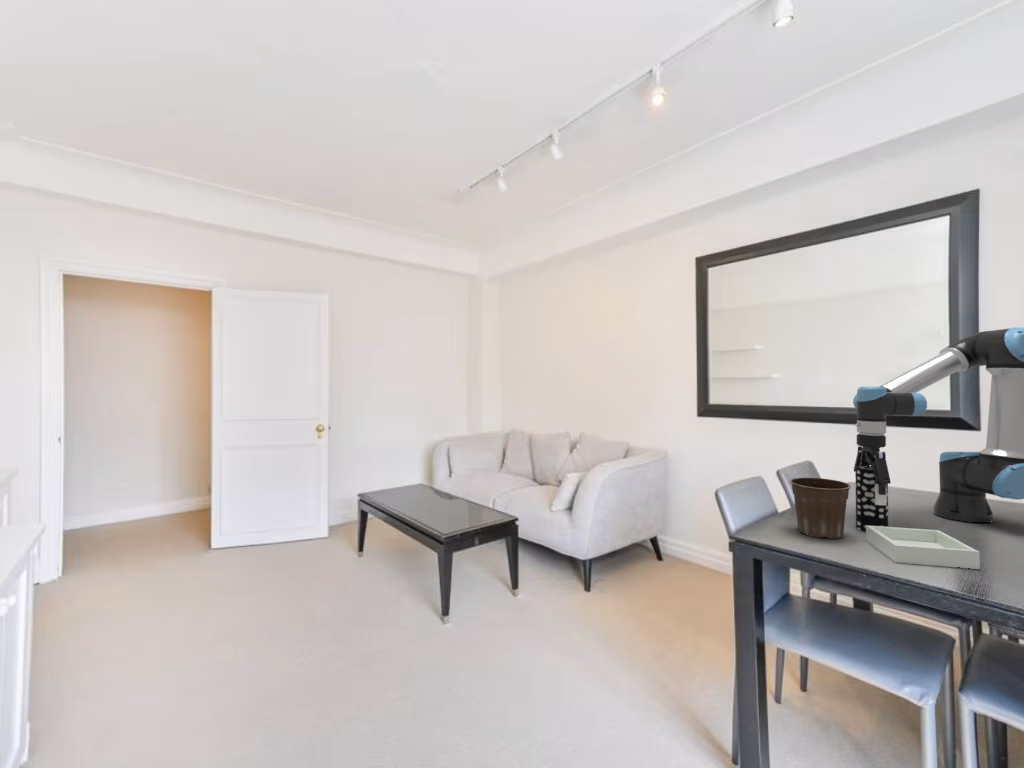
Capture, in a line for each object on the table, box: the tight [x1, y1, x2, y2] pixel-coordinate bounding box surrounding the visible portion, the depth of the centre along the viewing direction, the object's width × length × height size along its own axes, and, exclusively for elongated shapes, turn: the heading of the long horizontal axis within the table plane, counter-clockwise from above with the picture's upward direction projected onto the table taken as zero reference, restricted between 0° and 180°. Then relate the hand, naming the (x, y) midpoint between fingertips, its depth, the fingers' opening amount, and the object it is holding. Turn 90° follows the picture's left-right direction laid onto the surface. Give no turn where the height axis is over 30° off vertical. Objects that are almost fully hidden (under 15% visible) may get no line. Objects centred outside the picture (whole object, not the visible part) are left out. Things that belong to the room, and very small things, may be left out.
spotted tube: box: [854, 465, 889, 533], centre depth 152 cm, size 8×8×20 cm
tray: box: [865, 525, 981, 570], centre depth 131 cm, size 18×18×4 cm
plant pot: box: [789, 477, 852, 540], centre depth 149 cm, size 16×16×16 cm
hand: (870, 499), depth 152 cm, fingers open, 13 cm apart
